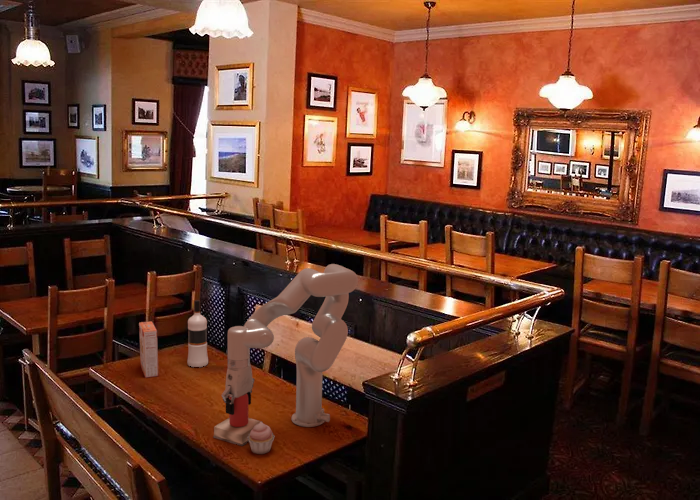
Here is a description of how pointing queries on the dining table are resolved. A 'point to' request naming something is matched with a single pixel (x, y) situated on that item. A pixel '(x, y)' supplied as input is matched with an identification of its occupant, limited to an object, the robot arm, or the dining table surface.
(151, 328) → the cracker box
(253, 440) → the cupcake
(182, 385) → the dining table surface
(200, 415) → the dining table surface
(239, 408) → the beer can
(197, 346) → the vodka
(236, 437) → the stand
